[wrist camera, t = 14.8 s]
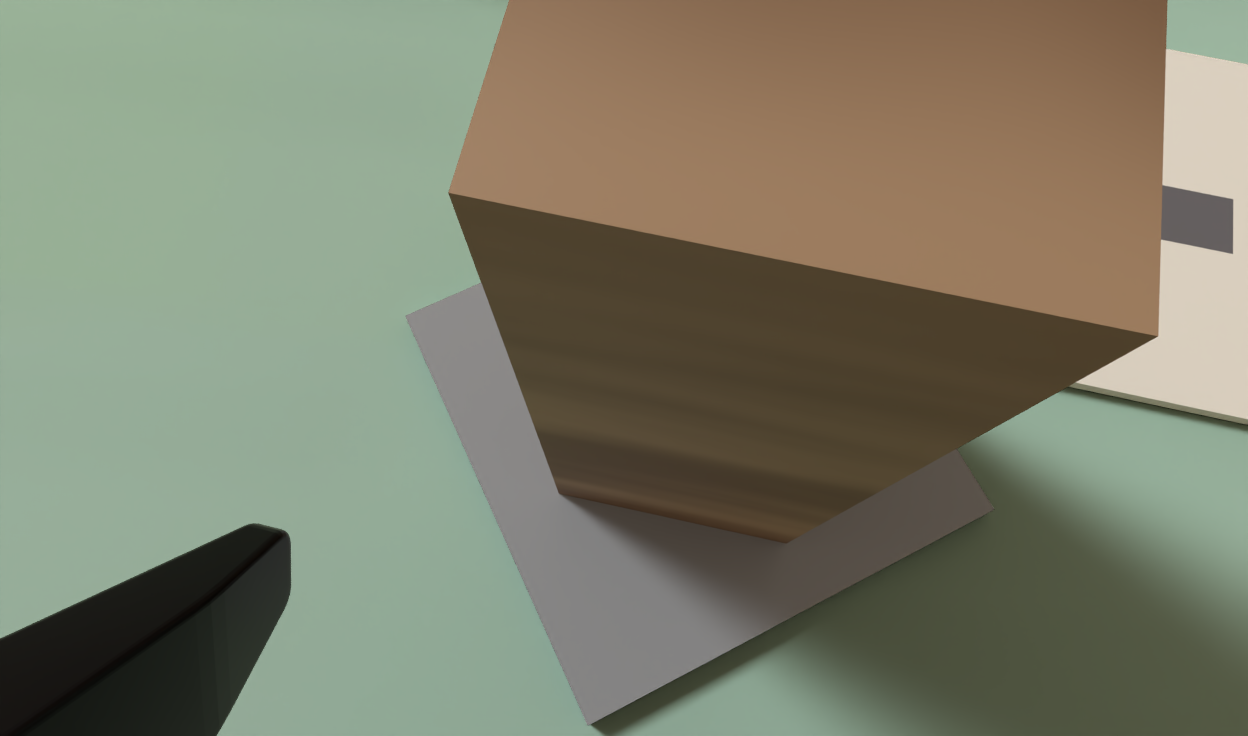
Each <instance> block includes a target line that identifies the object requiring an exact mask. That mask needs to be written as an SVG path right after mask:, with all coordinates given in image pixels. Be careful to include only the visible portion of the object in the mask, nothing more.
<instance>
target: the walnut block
mask: <svg viewBox="0 0 1248 736" xmlns="http://www.w3.org/2000/svg"><path fill="white" fill-rule="evenodd" d="M1166 31H1167V0H509V2H508V6H507V9H506V12H505V15H504V18H503V21H502V25H501V28H500V31H499V34H498V37H497V40H496V44H495V47H494V50H493V53H492V56H491V59H490V63H489V66H488V69H487V72H486V75H485V78H484V82H483V85H482V88H481V91H480V94H479V97H478V101H477V104H476V107H475V110H474V113H473V116H472V120H471V123H470V126H469V129H468V132H467V135H466V138H465V142H464V145H463V148H462V151H461V154H460V157H459V161H458V164H457V167H456V170H455V173H454V176H453V180H452V183H451V186H450V189H449V192H448V193H449V196H450V199H451V201H452V204H453V207H454V210H455V212H456V215H457V218H458V220H459V223H460V226H461V229H462V231H463V234H464V237H465V239H466V242H467V245H468V248H469V250H470V253H471V256H472V259H473V261H474V264H475V267H476V269H477V272H478V275H479V278H480V280H481V283H482V286H483V288H484V291H485V294H486V297H487V299H488V302H489V305H490V308H491V310H492V313H493V316H494V318H495V321H496V324H497V327H498V329H499V332H500V335H501V337H502V340H503V343H504V346H505V348H506V351H507V354H508V357H509V359H510V362H511V365H512V367H513V370H514V373H515V376H516V378H517V381H518V384H519V386H520V389H521V392H522V395H523V397H524V400H525V403H526V406H527V408H528V411H529V414H530V416H531V419H532V422H533V425H534V427H535V430H536V433H537V436H538V438H539V441H540V444H541V446H542V449H543V452H544V455H545V457H546V460H547V463H548V465H549V468H550V471H551V474H552V476H553V479H554V482H555V485H556V487H557V490H558V493H559V494H563V495H568V496H572V497H577V498H581V499H586V500H590V501H595V502H600V503H604V504H609V505H613V506H618V507H622V508H627V509H631V510H636V511H640V512H645V513H650V514H654V515H659V516H663V517H668V518H672V519H677V520H681V521H686V522H690V523H695V524H700V525H704V526H709V527H713V528H718V529H722V530H727V531H731V532H736V533H740V534H745V535H750V536H754V537H759V538H763V539H768V540H772V541H777V542H781V543H788V542H790V541H792V540H794V539H795V538H797V537H799V536H801V535H803V534H804V533H806V532H808V531H810V530H812V529H813V528H815V527H817V526H819V525H821V524H822V523H824V522H826V521H828V520H830V519H831V518H833V517H835V516H837V515H839V514H840V513H842V512H844V511H846V510H848V509H849V508H851V507H853V506H855V505H856V504H858V503H860V502H862V501H864V500H865V499H867V498H869V497H871V496H873V495H874V494H876V493H878V492H880V491H882V490H883V489H885V488H887V487H889V486H891V485H892V484H894V483H896V482H898V481H900V480H901V479H903V478H905V477H907V476H909V475H910V474H912V473H914V472H916V471H918V470H919V469H921V468H923V467H925V466H926V465H928V464H930V463H932V462H934V461H935V460H937V459H939V458H941V457H943V456H944V455H946V454H948V453H950V452H952V451H953V450H955V449H957V448H959V447H961V446H962V445H964V444H966V443H968V442H970V441H971V440H973V439H975V438H977V437H979V436H980V435H982V434H984V433H986V432H988V431H989V430H991V429H993V428H995V427H997V426H998V425H1000V424H1002V423H1004V422H1005V421H1007V420H1009V419H1011V418H1013V417H1014V416H1016V415H1018V414H1020V413H1022V412H1023V411H1025V410H1027V409H1029V408H1031V407H1032V406H1034V405H1036V404H1038V403H1040V402H1041V401H1043V400H1045V399H1047V398H1049V397H1050V396H1052V395H1054V394H1056V393H1058V392H1059V391H1061V390H1063V389H1065V388H1067V387H1068V386H1070V385H1072V384H1074V383H1076V382H1077V381H1079V380H1081V379H1083V378H1084V377H1086V376H1088V375H1090V374H1092V373H1093V372H1095V371H1097V370H1099V369H1101V368H1102V367H1104V366H1106V365H1108V364H1110V363H1111V362H1113V361H1115V360H1117V359H1119V358H1120V357H1122V356H1124V355H1126V354H1128V353H1129V352H1131V351H1133V350H1135V349H1137V348H1138V347H1140V346H1142V345H1144V344H1146V343H1147V342H1149V341H1151V340H1153V339H1155V338H1156V337H1158V332H1159V294H1160V256H1161V219H1162V181H1163V143H1164V106H1165V68H1166Z"/></svg>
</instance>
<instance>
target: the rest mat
mask: <svg viewBox="0 0 1248 736" xmlns="http://www.w3.org/2000/svg"><path fill="white" fill-rule="evenodd" d="M406 319H407V321H408V323H409V325H410V328H411V330H412V332H413V334H414V337H415V339H416V341H417V343H418V346H419V348H420V350H421V352H422V355H423V357H424V359H425V361H426V364H427V366H428V368H429V370H430V373H431V375H432V377H433V379H434V382H435V384H436V386H437V388H438V391H439V393H440V395H441V397H442V399H443V402H444V404H445V406H446V408H447V411H448V413H449V415H450V417H451V420H452V422H453V424H454V426H455V429H456V431H457V433H458V435H459V438H460V440H461V442H462V444H463V447H464V449H465V451H466V453H467V456H468V458H469V460H470V462H471V465H472V467H473V469H474V471H475V474H476V476H477V478H478V480H479V482H480V485H481V487H482V489H483V491H484V494H485V496H486V498H487V500H488V503H489V505H490V507H491V509H492V512H493V514H494V516H495V518H496V521H497V523H498V525H499V527H500V530H501V532H502V534H503V536H504V539H505V541H506V543H507V545H508V548H509V550H510V552H511V554H512V557H513V559H514V561H515V563H516V565H517V568H518V570H519V572H520V574H521V577H522V579H523V581H524V583H525V586H526V588H527V590H528V592H529V595H530V597H531V599H532V601H533V604H534V606H535V608H536V610H537V613H538V615H539V617H540V619H541V622H542V624H543V626H544V628H545V631H546V633H547V635H548V637H549V640H550V642H551V644H552V646H553V648H554V651H555V653H556V655H557V657H558V660H559V662H560V664H561V666H562V669H563V671H564V673H565V675H566V678H567V680H568V682H569V684H570V687H571V689H572V691H573V693H574V696H575V698H576V700H577V702H578V705H579V707H580V709H581V711H582V714H583V716H584V718H585V720H586V723H587V725H590V724H592V723H594V722H596V721H598V720H599V719H601V718H603V717H605V716H607V715H609V714H611V713H613V712H614V711H616V710H618V709H620V708H622V707H624V706H626V705H628V704H630V703H631V702H633V701H635V700H637V699H639V698H641V697H643V696H645V695H646V694H648V693H650V692H652V691H654V690H656V689H658V688H660V687H662V686H663V685H665V684H667V683H669V682H671V681H673V680H675V679H677V678H678V677H680V676H682V675H684V674H686V673H688V672H690V671H692V670H694V669H695V668H697V667H699V666H701V665H703V664H705V663H707V662H709V661H710V660H712V659H714V658H716V657H718V656H720V655H722V654H724V653H726V652H727V651H729V650H731V649H733V648H735V647H737V646H739V645H741V644H742V643H744V642H746V641H748V640H750V639H752V638H754V637H756V636H758V635H759V634H761V633H763V632H765V631H767V630H769V629H771V628H773V627H774V626H776V625H778V624H780V623H782V622H784V621H786V620H788V619H790V618H791V617H793V616H795V615H797V614H799V613H801V612H803V611H805V610H806V609H808V608H810V607H812V606H814V605H816V604H818V603H820V602H822V601H823V600H825V599H827V598H829V597H831V596H833V595H835V594H837V593H838V592H840V591H842V590H844V589H846V588H848V587H850V586H852V585H854V584H855V583H857V582H859V581H861V580H863V579H865V578H867V577H869V576H870V575H872V574H874V573H876V572H878V571H880V570H882V569H884V568H886V567H887V566H889V565H891V564H893V563H895V562H897V561H899V560H901V559H902V558H904V557H906V556H908V555H910V554H912V553H914V552H916V551H918V550H919V549H921V548H923V547H925V546H927V545H929V544H931V543H933V542H934V541H936V540H938V539H940V538H942V537H944V536H946V535H948V534H950V533H951V532H953V531H955V530H957V529H959V528H961V527H963V526H965V525H966V524H968V523H970V522H972V521H974V520H976V519H978V518H980V517H982V516H983V515H985V514H987V513H989V512H991V511H993V510H995V509H994V508H993V506H992V505H991V503H990V501H989V500H988V498H987V497H986V495H985V493H984V492H983V490H982V488H981V487H980V485H979V484H978V482H977V480H976V479H975V477H974V476H973V474H972V472H971V471H970V469H969V468H968V466H967V464H966V463H965V461H964V460H963V458H962V456H961V455H960V453H959V451H958V450H957V449H955V450H953V451H952V452H950V453H948V454H946V455H944V456H943V457H941V458H939V459H937V460H935V461H934V462H932V463H930V464H928V465H926V466H925V467H923V468H921V469H919V470H918V471H916V472H914V473H912V474H910V475H909V476H907V477H905V478H903V479H901V480H900V481H898V482H896V483H894V484H892V485H891V486H889V487H887V488H885V489H883V490H882V491H880V492H878V493H876V494H874V495H873V496H871V497H869V498H867V499H865V500H864V501H862V502H860V503H858V504H856V505H855V506H853V507H851V508H849V509H848V510H846V511H844V512H842V513H840V514H839V515H837V516H835V517H833V518H831V519H830V520H828V521H826V522H824V523H822V524H821V525H819V526H817V527H815V528H813V529H812V530H810V531H808V532H806V533H804V534H803V535H801V536H799V537H797V538H795V539H794V540H792V541H790V542H788V543H781V542H777V541H772V540H768V539H763V538H759V537H754V536H750V535H745V534H740V533H736V532H731V531H727V530H722V529H718V528H713V527H709V526H704V525H700V524H695V523H690V522H686V521H681V520H677V519H672V518H668V517H663V516H659V515H654V514H650V513H645V512H640V511H636V510H631V509H627V508H622V507H618V506H613V505H609V504H604V503H600V502H595V501H590V500H586V499H581V498H577V497H572V496H568V495H563V494H559V493H558V490H557V487H556V485H555V482H554V479H553V476H552V474H551V471H550V468H549V465H548V463H547V460H546V457H545V455H544V452H543V449H542V446H541V444H540V441H539V438H538V436H537V433H536V430H535V427H534V425H533V422H532V419H531V416H530V414H529V411H528V408H527V406H526V403H525V400H524V397H523V395H522V392H521V389H520V386H519V384H518V381H517V378H516V376H515V373H514V370H513V367H512V365H511V362H510V359H509V357H508V354H507V351H506V348H505V346H504V343H503V340H502V337H501V335H500V332H499V329H498V327H497V324H496V321H495V318H494V316H493V313H492V310H491V308H490V305H489V302H488V299H487V297H486V294H485V291H484V288H483V286H482V283H479V284H477V285H475V286H472V287H470V288H468V289H465V290H463V291H461V292H459V293H456V294H454V295H452V296H449V297H447V298H445V299H443V300H440V301H438V302H436V303H434V304H431V305H429V306H427V307H424V308H422V309H420V310H418V311H415V312H413V313H411V314H408V315H406Z"/></svg>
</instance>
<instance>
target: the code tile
mask: <svg viewBox="0 0 1248 736" xmlns="http://www.w3.org/2000/svg"><path fill="white" fill-rule="evenodd" d="M1068 387H1073V388H1077V389H1082V390H1087V391H1092V392H1096V393H1101V394H1106V395H1110V396H1115V397H1120V398H1124V399H1129V400H1134V401H1138V402H1143V403H1148V404H1152V405H1157V406H1162V407H1166V408H1171V409H1176V410H1180V411H1185V412H1190V413H1195V414H1199V415H1204V416H1209V417H1213V418H1218V419H1223V420H1227V421H1232V422H1237V423H1241V424H1246V425H1248V64H1243V63H1237V62H1232V61H1227V60H1222V59H1217V58H1211V57H1206V56H1201V55H1196V54H1190V53H1185V52H1180V51H1175V50H1169V49H1166V68H1165V106H1164V143H1163V181H1162V219H1161V256H1160V294H1159V332H1158V337H1156V338H1155V339H1153V340H1151V341H1149V342H1147V343H1146V344H1144V345H1142V346H1140V347H1138V348H1137V349H1135V350H1133V351H1131V352H1129V353H1128V354H1126V355H1124V356H1122V357H1120V358H1119V359H1117V360H1115V361H1113V362H1111V363H1110V364H1108V365H1106V366H1104V367H1102V368H1101V369H1099V370H1097V371H1095V372H1093V373H1092V374H1090V375H1088V376H1086V377H1084V378H1083V379H1081V380H1079V381H1077V382H1076V383H1074V384H1072V385H1070V386H1068Z"/></svg>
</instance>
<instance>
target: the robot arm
mask: <svg viewBox="0 0 1248 736" xmlns="http://www.w3.org/2000/svg"><path fill="white" fill-rule="evenodd" d="M290 590H291V542H290V537H289V535H288V533H287V532H286V531H284V530H282V529H278V528H274V527H270V526H266V525H262V524H256V523H253V524H248V525H246V526H243V527H241V528H239V529H237V530H234V531H232V532H230V533H228V534H226V535H224V536H221V537H219V538H217V539H215V540H213V541H211V542H208V543H206V544H204V545H202V546H200V547H198V548H195V549H193V550H191V551H189V552H187V553H185V554H182V555H180V556H178V557H176V558H174V559H172V560H169V561H167V562H165V563H163V564H161V565H159V566H156V567H154V568H152V569H150V570H148V571H146V572H143V573H141V574H139V575H137V576H135V577H133V578H130V579H128V580H126V581H124V582H122V583H120V584H117V585H115V586H113V587H111V588H109V589H107V590H104V591H102V592H100V593H98V594H96V595H94V596H92V597H89V598H87V599H85V600H83V601H81V602H79V603H76V604H74V605H72V606H70V607H68V608H66V609H63V610H61V611H59V612H57V613H55V614H53V615H50V616H48V617H46V618H44V619H42V620H40V621H37V622H35V623H33V624H31V625H29V626H27V627H24V628H22V629H20V630H18V631H16V632H14V633H11V634H9V635H7V636H5V637H3V638H1V639H0V736H217V734H218V732H219V731H220V729H221V727H222V726H223V724H224V722H225V720H226V718H227V717H228V715H229V713H230V711H231V709H232V708H233V706H234V704H235V702H236V700H237V698H238V696H239V694H240V692H241V690H242V689H243V687H244V685H245V683H246V681H247V679H248V677H249V675H250V673H251V672H252V670H253V668H254V666H255V664H256V662H257V660H258V658H259V656H260V654H261V653H262V651H263V649H264V647H265V645H266V643H267V641H268V639H269V637H270V636H271V634H272V632H273V630H274V628H275V626H276V624H277V622H278V620H279V618H280V617H281V615H282V613H283V611H284V609H285V607H286V604H287V602H288V599H289V595H290Z"/></svg>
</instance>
